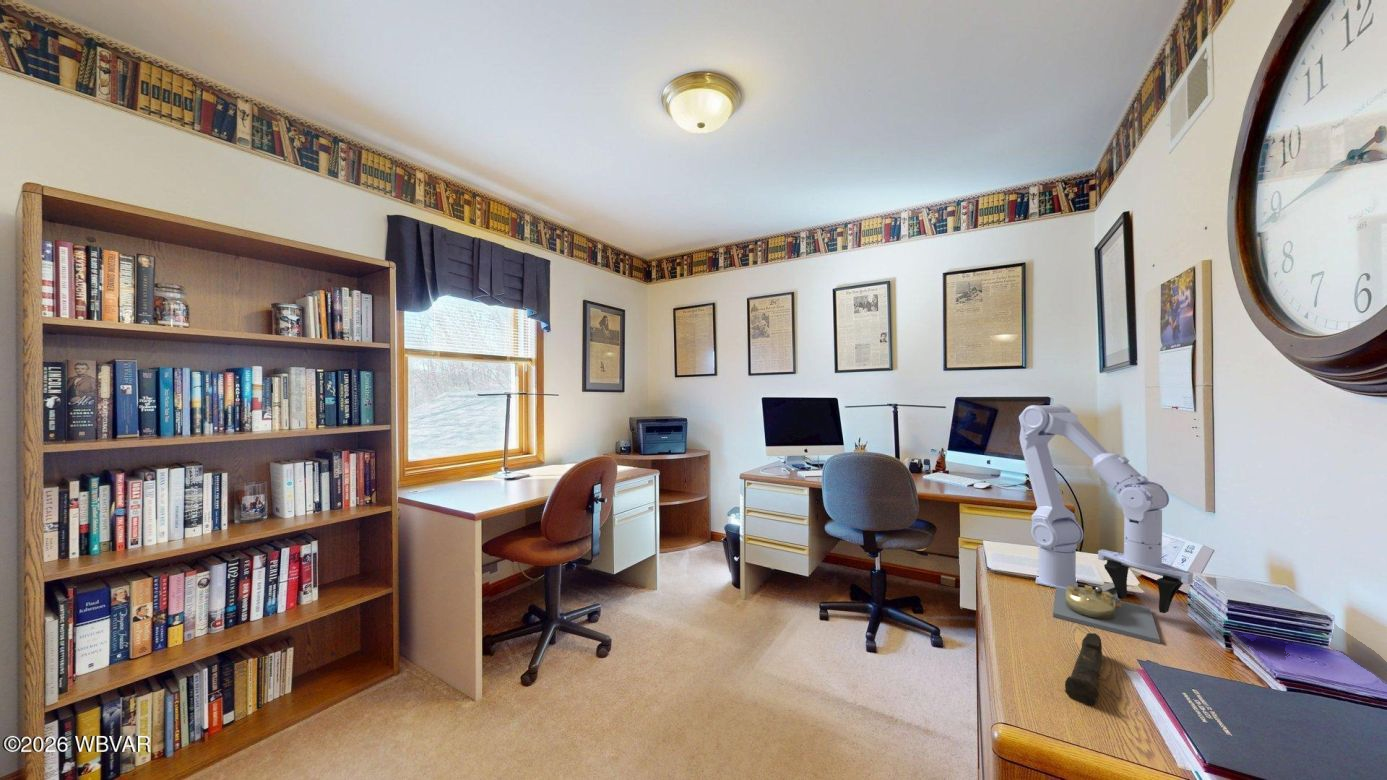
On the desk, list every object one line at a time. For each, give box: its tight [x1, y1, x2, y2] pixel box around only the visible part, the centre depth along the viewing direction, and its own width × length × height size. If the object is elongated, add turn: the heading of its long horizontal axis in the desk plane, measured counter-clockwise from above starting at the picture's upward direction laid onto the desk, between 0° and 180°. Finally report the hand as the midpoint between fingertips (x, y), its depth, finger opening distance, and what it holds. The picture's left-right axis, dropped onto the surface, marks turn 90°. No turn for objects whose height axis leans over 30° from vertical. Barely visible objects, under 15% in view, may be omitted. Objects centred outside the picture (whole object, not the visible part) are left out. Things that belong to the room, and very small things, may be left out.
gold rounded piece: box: [1066, 582, 1121, 619], centre depth 100 cm, size 14×8×4 cm, turn 113°
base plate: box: [1052, 587, 1161, 644], centre depth 99 cm, size 16×16×1 cm
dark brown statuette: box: [1064, 632, 1103, 707], centre depth 78 cm, size 19×4×5 cm, turn 131°
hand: (1142, 604), depth 97 cm, fingers open, 6 cm apart
